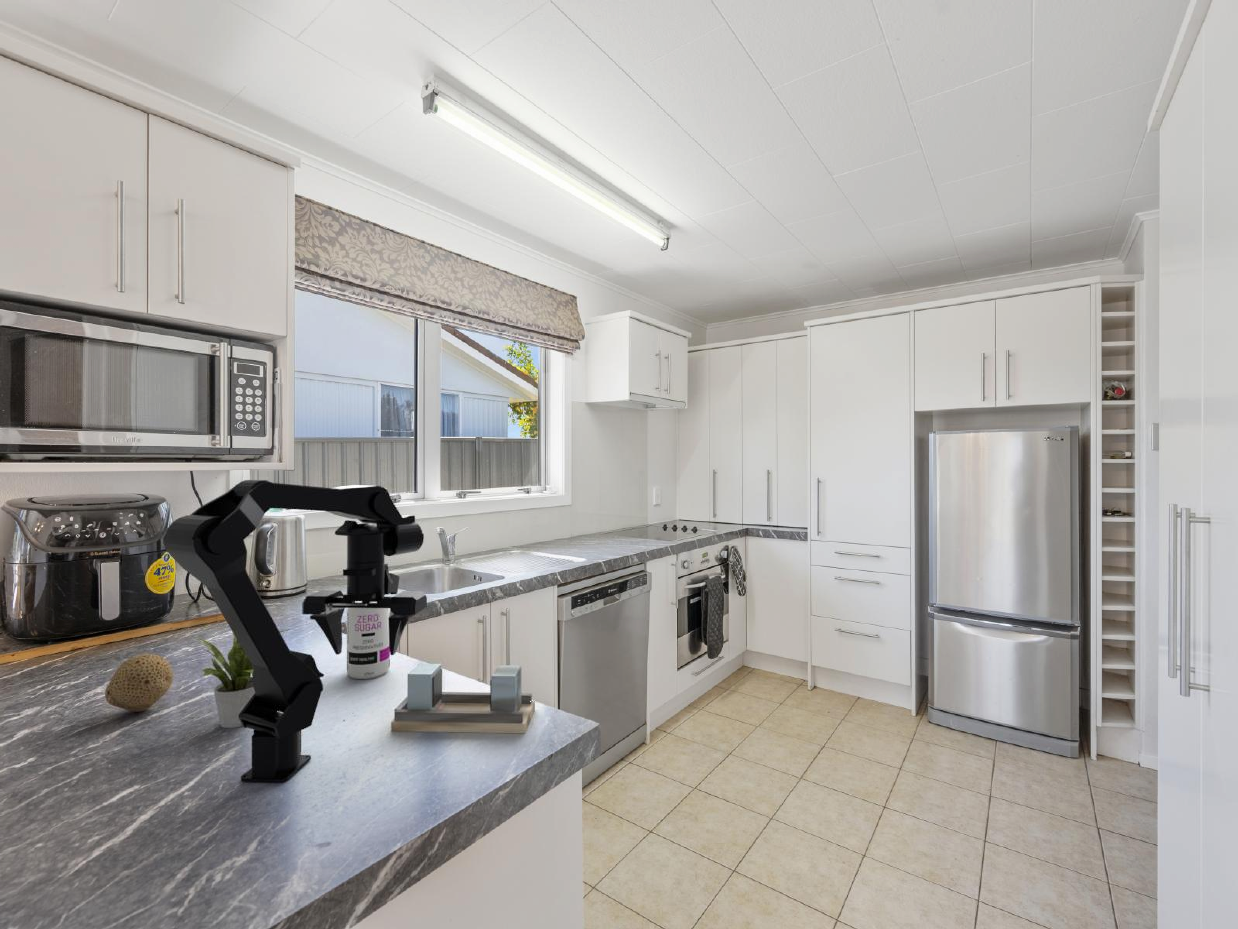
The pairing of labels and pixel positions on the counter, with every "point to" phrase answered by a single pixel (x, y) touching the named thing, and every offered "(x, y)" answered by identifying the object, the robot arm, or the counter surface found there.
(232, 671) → the house plant
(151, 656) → the natural sponge
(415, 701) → the block
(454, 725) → the rail plate
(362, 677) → the supplement can
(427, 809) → the counter surface
